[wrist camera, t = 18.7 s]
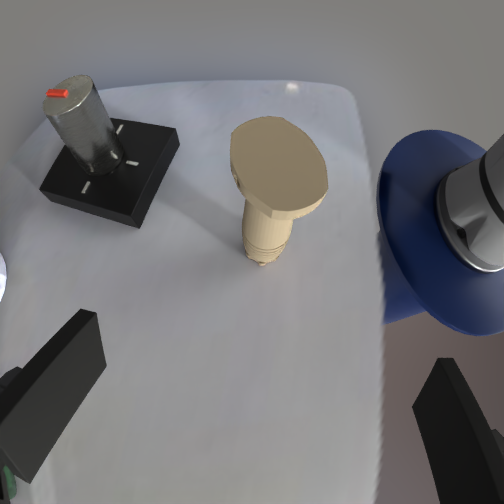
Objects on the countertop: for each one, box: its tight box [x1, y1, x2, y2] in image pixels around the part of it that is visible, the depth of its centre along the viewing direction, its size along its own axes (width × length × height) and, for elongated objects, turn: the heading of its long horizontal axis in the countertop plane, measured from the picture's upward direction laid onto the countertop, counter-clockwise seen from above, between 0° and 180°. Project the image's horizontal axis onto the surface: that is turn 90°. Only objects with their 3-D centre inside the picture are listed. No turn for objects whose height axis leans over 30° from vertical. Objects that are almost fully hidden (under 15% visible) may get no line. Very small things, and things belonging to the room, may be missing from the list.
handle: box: [230, 116, 328, 266], centre depth 24 cm, size 5×6×15 cm
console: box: [39, 118, 180, 228], centre depth 32 cm, size 13×11×3 cm
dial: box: [43, 75, 124, 177], centre depth 26 cm, size 5×5×10 cm
